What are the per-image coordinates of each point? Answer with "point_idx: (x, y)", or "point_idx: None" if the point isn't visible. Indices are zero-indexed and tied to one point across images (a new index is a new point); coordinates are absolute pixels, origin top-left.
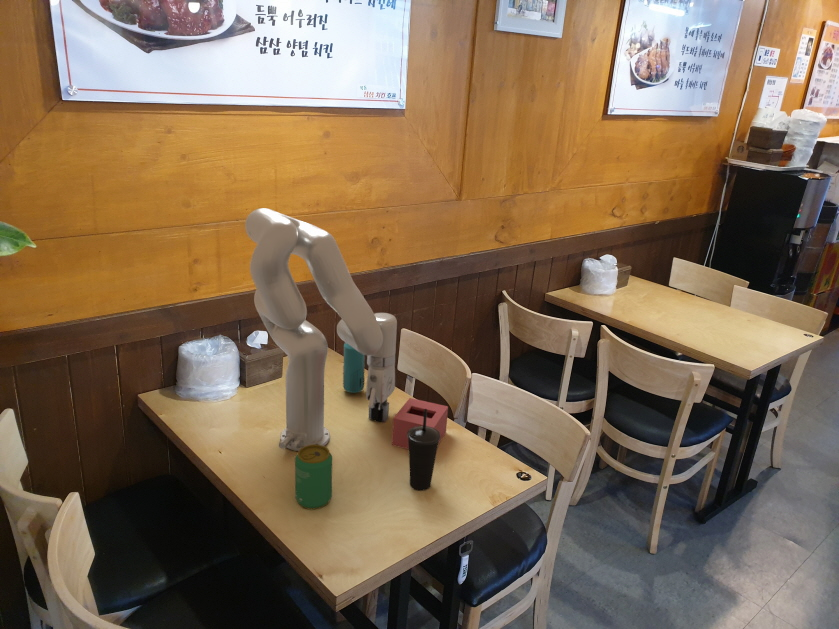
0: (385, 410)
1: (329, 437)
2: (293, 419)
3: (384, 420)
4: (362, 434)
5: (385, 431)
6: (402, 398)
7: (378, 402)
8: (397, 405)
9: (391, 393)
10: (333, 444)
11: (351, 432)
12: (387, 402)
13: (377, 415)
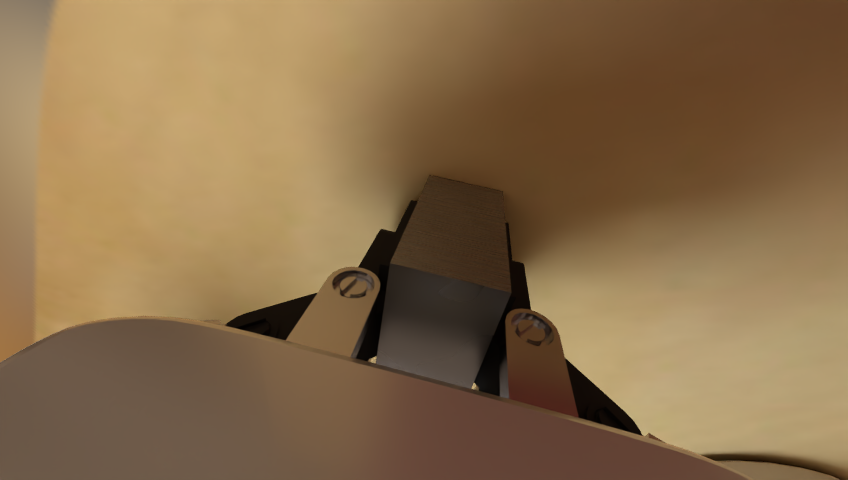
0: (506, 256)
1: (768, 474)
2: None
3: (501, 204)
4: (706, 320)
5: (672, 163)
6: (80, 113)
7: (429, 365)
8: (200, 134)
9: (289, 351)
10: (818, 442)
11: (667, 374)
12: (396, 282)
13: (524, 289)
